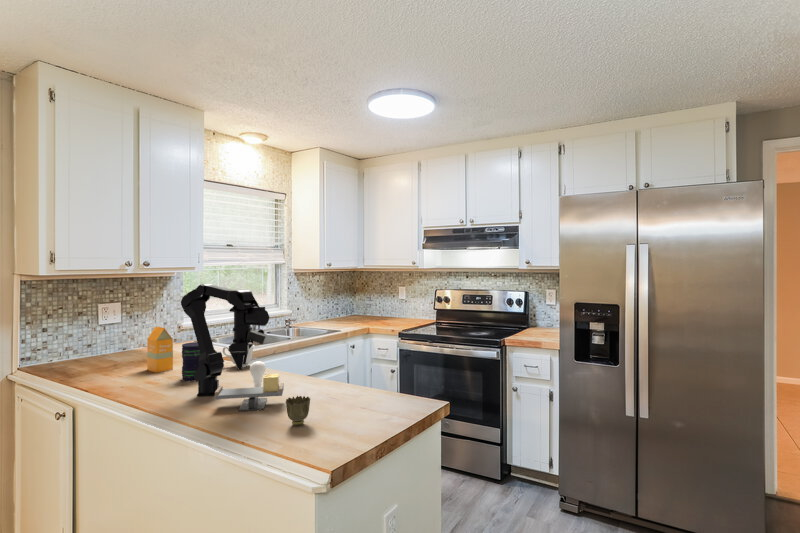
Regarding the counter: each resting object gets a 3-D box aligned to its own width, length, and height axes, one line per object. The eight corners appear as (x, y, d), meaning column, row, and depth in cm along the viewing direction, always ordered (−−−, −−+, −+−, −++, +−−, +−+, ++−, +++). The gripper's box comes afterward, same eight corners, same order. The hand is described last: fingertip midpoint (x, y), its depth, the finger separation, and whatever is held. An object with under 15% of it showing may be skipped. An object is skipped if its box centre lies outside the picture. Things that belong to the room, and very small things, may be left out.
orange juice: (163, 366, 213) (163, 325, 213) (173, 369, 208) (173, 327, 208) (146, 369, 207) (146, 327, 207) (156, 372, 202) (156, 328, 202)
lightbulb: (268, 387, 178) (268, 360, 178) (259, 391, 172) (259, 363, 172) (256, 386, 180) (256, 359, 180) (246, 390, 174) (246, 362, 174)
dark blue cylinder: (176, 380, 189) (176, 345, 189) (194, 374, 198) (194, 341, 198) (193, 382, 185) (193, 346, 185) (211, 376, 194) (211, 343, 194)
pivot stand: (238, 411, 149) (238, 401, 149) (244, 400, 160) (244, 390, 160) (263, 410, 150) (263, 399, 150) (267, 399, 162) (267, 389, 162)
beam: (214, 399, 149) (214, 392, 149) (219, 392, 157) (219, 385, 157) (282, 395, 153) (282, 388, 153) (283, 389, 161) (283, 382, 161)
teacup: (226, 363, 219) (226, 343, 219) (257, 363, 221) (257, 343, 221) (218, 369, 207) (219, 348, 207) (251, 369, 209) (251, 347, 209)
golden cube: (263, 392, 154) (263, 377, 153) (264, 388, 158) (264, 374, 158) (278, 391, 154) (278, 377, 154) (279, 387, 159) (279, 373, 159)
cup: (287, 420, 140) (287, 395, 140) (311, 420, 141) (311, 395, 141) (283, 429, 133) (283, 402, 133) (308, 428, 133) (308, 402, 133)
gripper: (262, 327, 154) (262, 371, 155) (267, 320, 173) (267, 360, 173) (228, 328, 152) (228, 373, 152) (237, 321, 171) (237, 361, 171)
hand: (242, 366), depth 162 cm, fingers open, 9 cm apart
